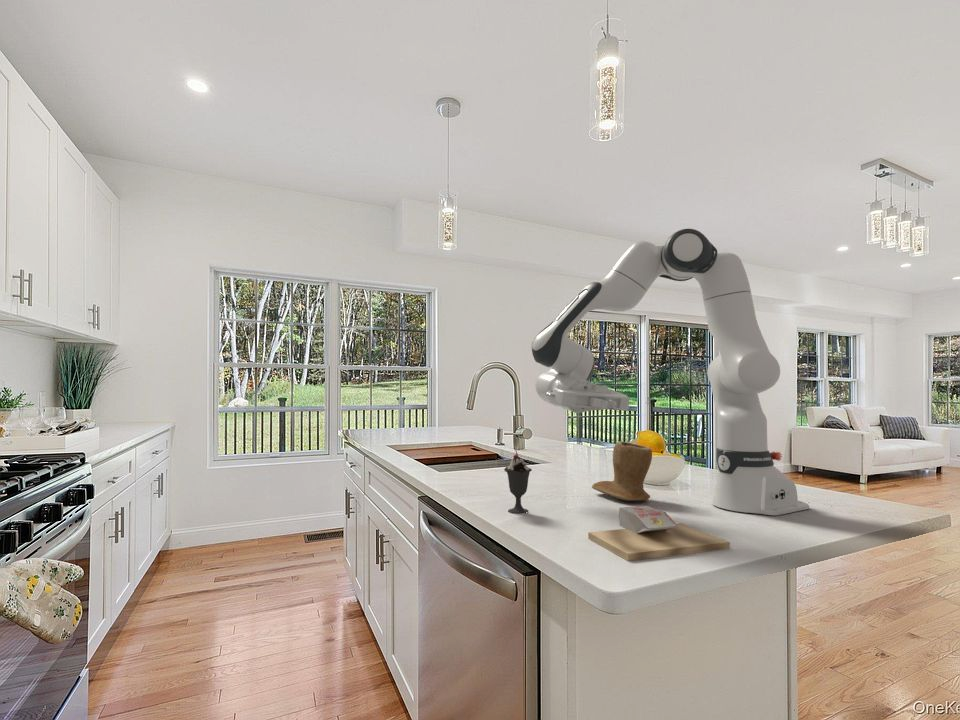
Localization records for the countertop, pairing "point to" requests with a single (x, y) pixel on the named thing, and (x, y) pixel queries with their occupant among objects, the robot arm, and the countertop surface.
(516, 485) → the sundae
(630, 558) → the oak board
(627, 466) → the brown suede boot
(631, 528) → the white printed carton
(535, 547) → the countertop surface
